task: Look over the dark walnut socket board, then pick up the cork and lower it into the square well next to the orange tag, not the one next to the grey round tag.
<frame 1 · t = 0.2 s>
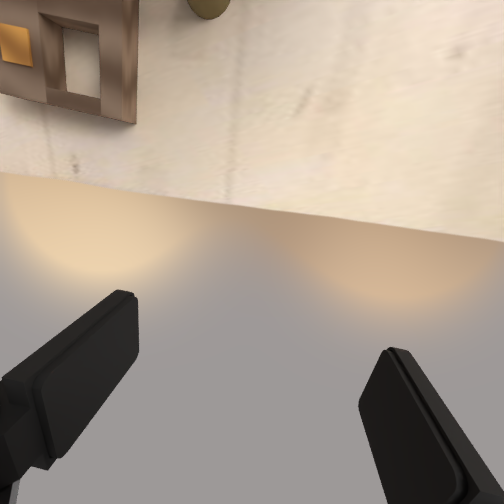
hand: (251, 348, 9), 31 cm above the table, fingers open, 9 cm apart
socket board: (74, 11, 32), on the table
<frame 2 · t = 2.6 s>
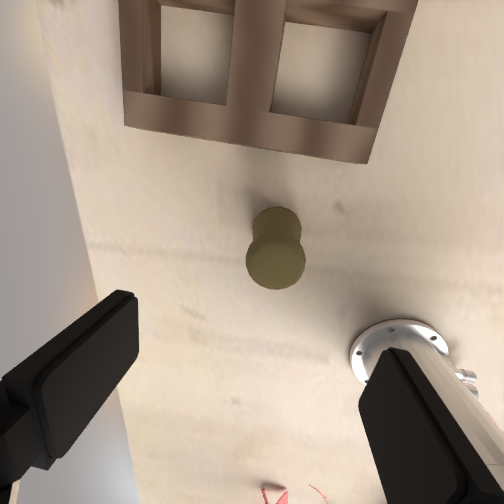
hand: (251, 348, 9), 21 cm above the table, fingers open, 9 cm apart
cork: (276, 230, 29), on the table
socket board: (260, 45, 23), on the table
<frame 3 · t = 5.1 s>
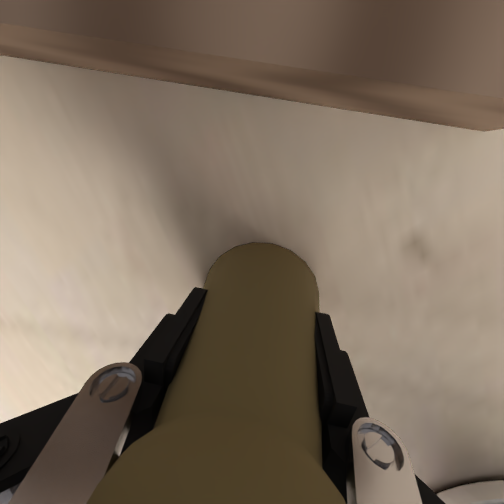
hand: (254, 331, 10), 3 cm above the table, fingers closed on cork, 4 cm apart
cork: (260, 294, 13), on the table, touching gripper
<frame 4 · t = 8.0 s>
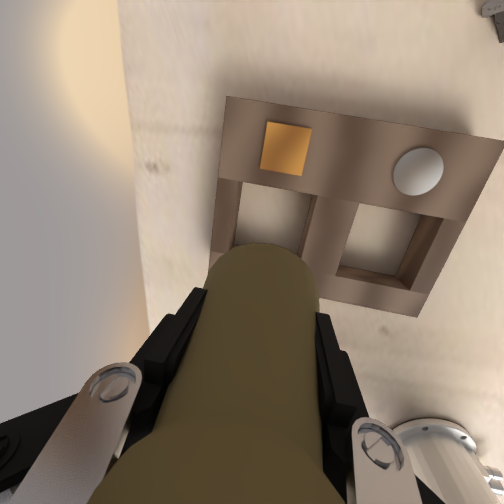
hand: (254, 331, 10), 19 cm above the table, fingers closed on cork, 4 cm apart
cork: (260, 294, 13), point 16 cm above the table, touching gripper
socket board: (326, 212, 27), on the table
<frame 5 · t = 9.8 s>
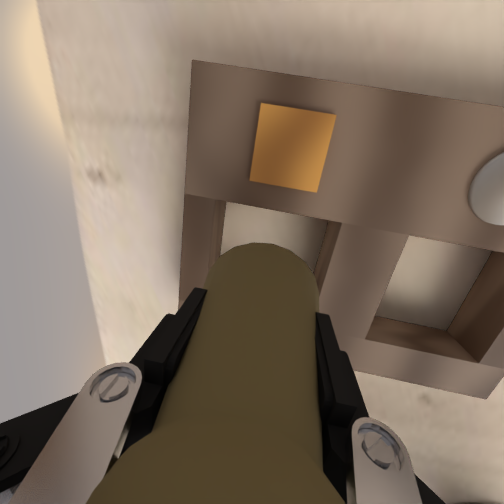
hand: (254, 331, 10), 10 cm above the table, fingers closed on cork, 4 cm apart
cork: (260, 294, 13), point 7 cm above the table, touching gripper
socket board: (349, 241, 18), on the table
when the fingers open (4 cm above the table, at t = 11.3 s): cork drops 1 cm, resting in socket board.
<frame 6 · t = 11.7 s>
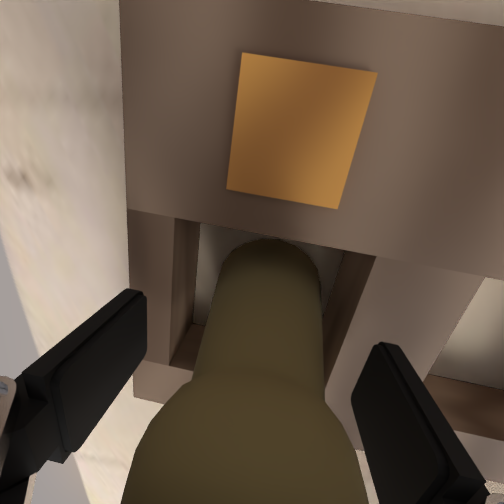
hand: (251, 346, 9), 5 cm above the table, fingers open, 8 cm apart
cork: (268, 285, 14), resting in socket board
socket board: (376, 272, 13), on the table
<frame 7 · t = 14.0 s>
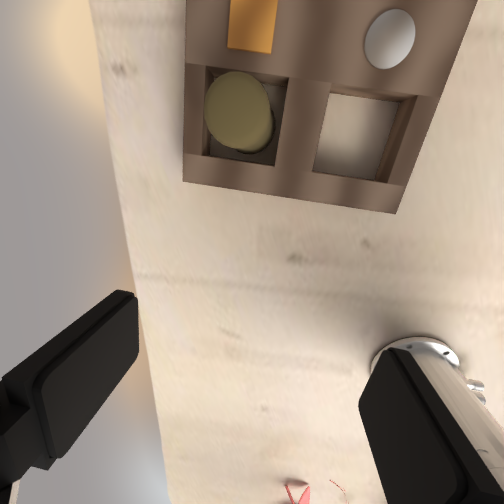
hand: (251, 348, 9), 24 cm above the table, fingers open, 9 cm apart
figurine: (313, 498, 56), on the table
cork: (249, 126, 27), resting in socket board
socket board: (301, 110, 26), on the table
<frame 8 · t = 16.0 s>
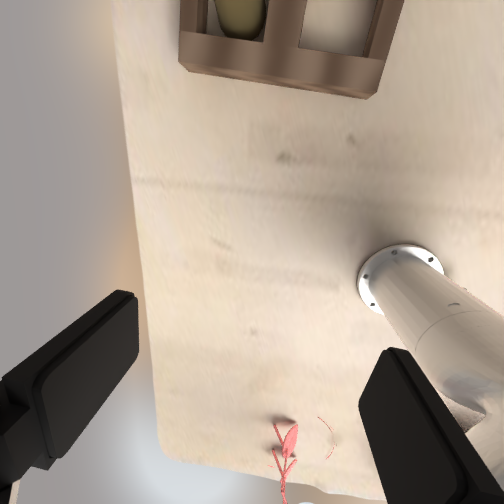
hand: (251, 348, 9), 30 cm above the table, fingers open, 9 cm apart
figurine: (302, 441, 56), on the table
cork: (242, 14, 29), resting in socket board
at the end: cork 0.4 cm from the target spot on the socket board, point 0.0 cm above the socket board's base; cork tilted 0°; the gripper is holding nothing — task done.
